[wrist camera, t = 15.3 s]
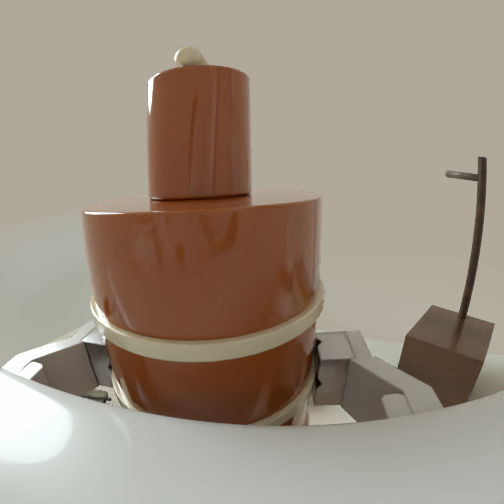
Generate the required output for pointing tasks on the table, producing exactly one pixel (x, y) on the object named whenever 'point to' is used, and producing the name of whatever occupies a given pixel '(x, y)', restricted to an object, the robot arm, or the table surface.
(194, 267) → the brown banded bottle
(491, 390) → the table surface
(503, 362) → the table surface
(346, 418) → the table surface
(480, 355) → the hanger rack
